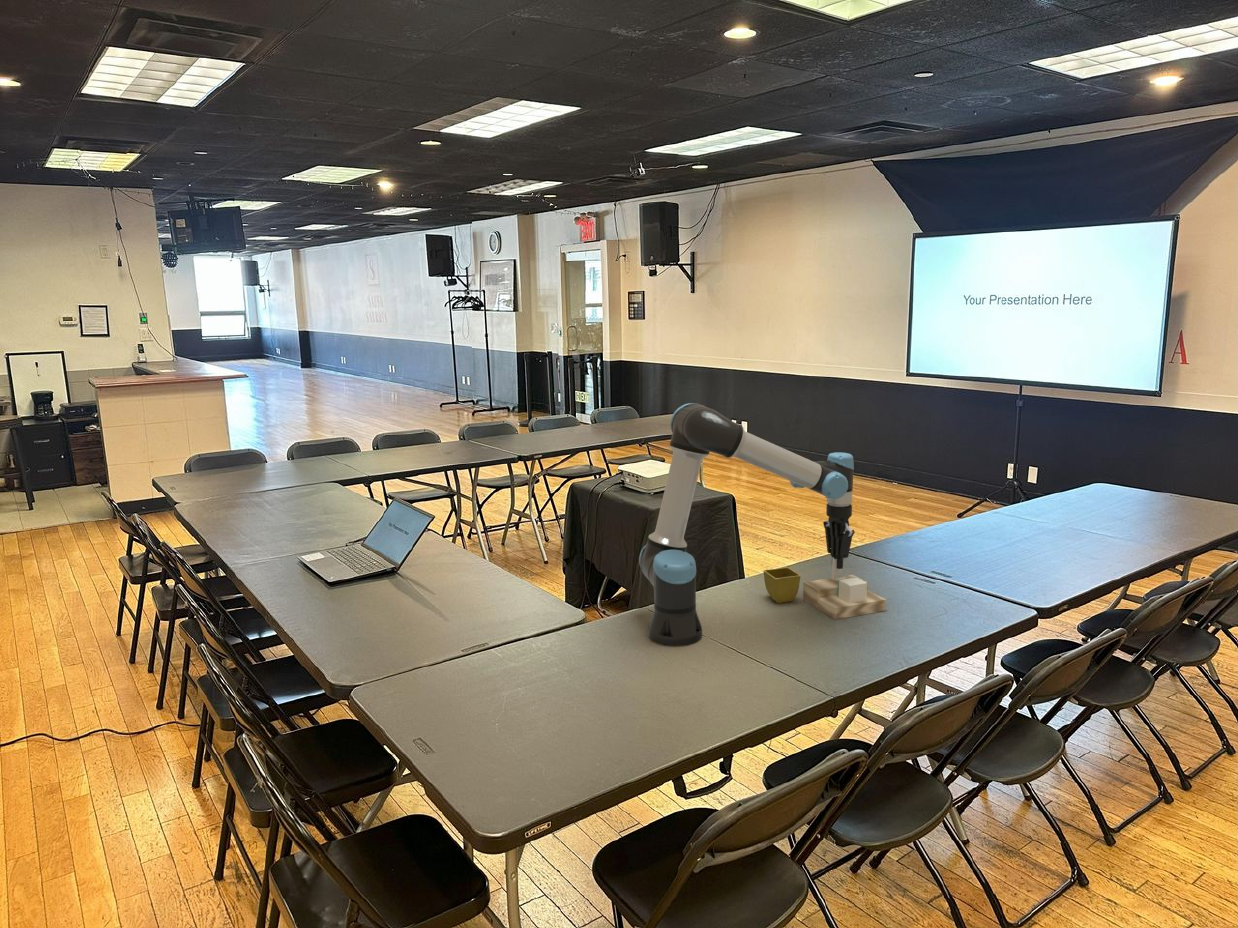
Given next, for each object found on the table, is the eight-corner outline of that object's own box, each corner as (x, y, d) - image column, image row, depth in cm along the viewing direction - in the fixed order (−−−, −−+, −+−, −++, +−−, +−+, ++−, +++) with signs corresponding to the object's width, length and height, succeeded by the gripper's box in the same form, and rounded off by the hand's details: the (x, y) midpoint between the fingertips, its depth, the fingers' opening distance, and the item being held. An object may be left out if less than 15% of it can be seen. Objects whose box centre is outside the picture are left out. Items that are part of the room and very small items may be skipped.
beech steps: (834, 619, 234) (835, 599, 233) (803, 600, 250) (803, 581, 249) (885, 610, 240) (886, 591, 239) (851, 592, 256) (852, 574, 255)
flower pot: (774, 606, 245) (775, 578, 244) (762, 596, 254) (762, 569, 252) (800, 603, 248) (801, 575, 246) (787, 593, 256) (788, 566, 254)
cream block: (837, 596, 243) (849, 603, 237) (838, 579, 242) (850, 585, 236) (854, 594, 245) (866, 600, 239) (854, 576, 244) (867, 582, 238)
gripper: (863, 507, 238) (860, 582, 242) (837, 497, 250) (834, 569, 254) (841, 509, 235) (839, 585, 240) (816, 500, 247) (814, 572, 252)
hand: (836, 577), depth 247 cm, fingers closed
